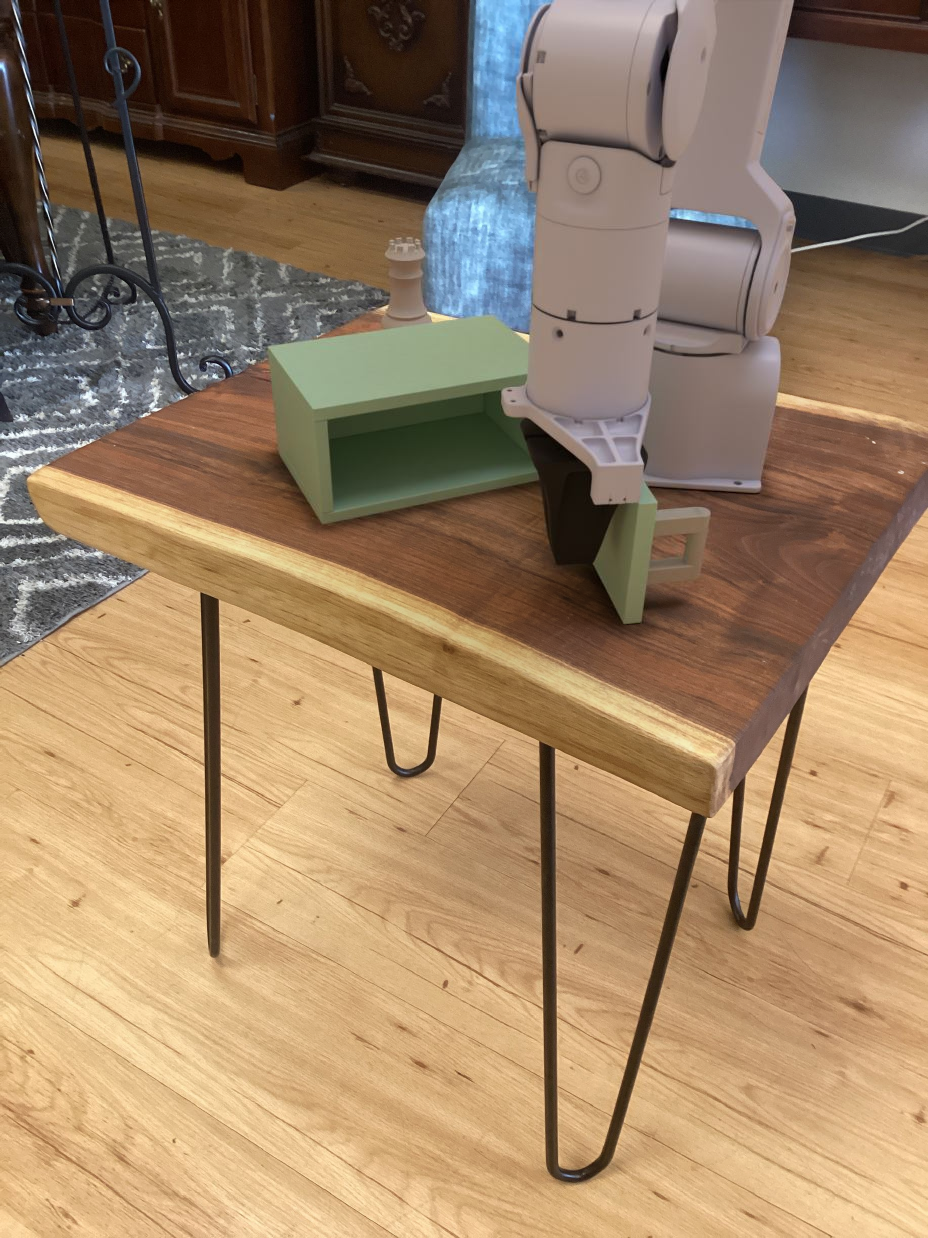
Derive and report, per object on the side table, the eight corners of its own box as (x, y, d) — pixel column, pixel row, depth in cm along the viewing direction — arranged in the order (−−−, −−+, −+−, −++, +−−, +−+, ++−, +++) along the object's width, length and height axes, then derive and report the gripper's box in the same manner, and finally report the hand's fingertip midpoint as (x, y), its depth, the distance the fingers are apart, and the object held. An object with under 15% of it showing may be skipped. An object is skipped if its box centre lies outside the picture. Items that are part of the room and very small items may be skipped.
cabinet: (552, 478, 68) (560, 367, 63) (322, 525, 63) (312, 409, 58) (489, 416, 75) (492, 313, 71) (278, 454, 70) (267, 345, 66)
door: (618, 477, 68) (629, 370, 63) (704, 616, 55) (726, 496, 51) (550, 482, 67) (558, 375, 63) (623, 624, 55) (638, 503, 50)
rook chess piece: (370, 343, 86) (365, 244, 81) (397, 326, 89) (395, 230, 85) (417, 353, 84) (415, 253, 80) (443, 335, 88) (443, 238, 83)
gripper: (486, 253, 52) (480, 491, 60) (532, 368, 41) (517, 643, 49) (623, 250, 53) (599, 486, 61) (708, 362, 41) (664, 635, 49)
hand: (572, 556), depth 55 cm, fingers closed, pressing on door
